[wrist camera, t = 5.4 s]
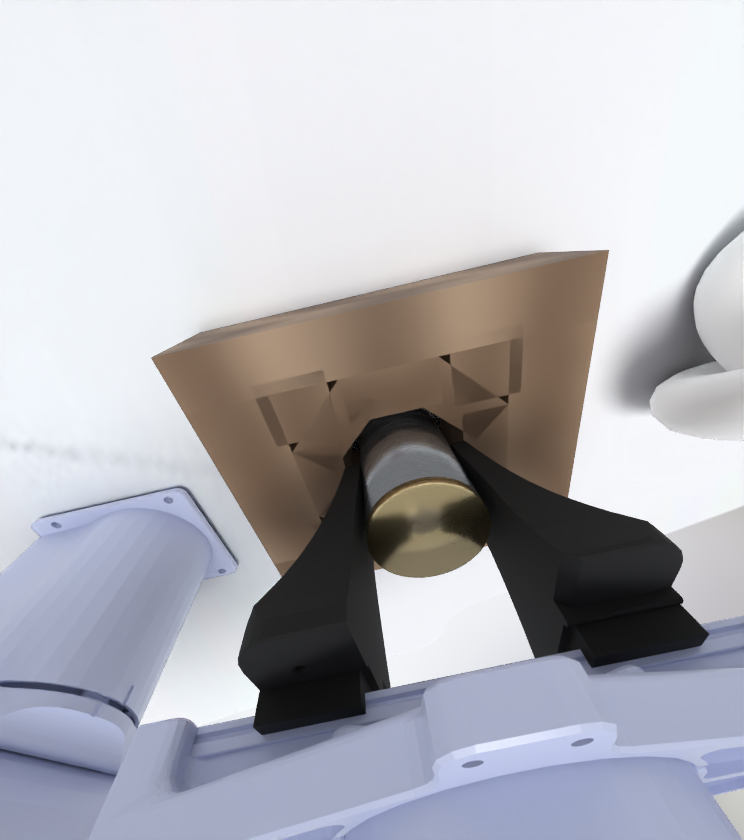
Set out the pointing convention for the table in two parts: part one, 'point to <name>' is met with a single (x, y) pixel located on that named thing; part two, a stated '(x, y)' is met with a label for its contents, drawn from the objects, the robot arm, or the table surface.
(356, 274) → the table surface
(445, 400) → the jig
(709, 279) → the white knot sculpture
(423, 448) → the brass capped cylinder
